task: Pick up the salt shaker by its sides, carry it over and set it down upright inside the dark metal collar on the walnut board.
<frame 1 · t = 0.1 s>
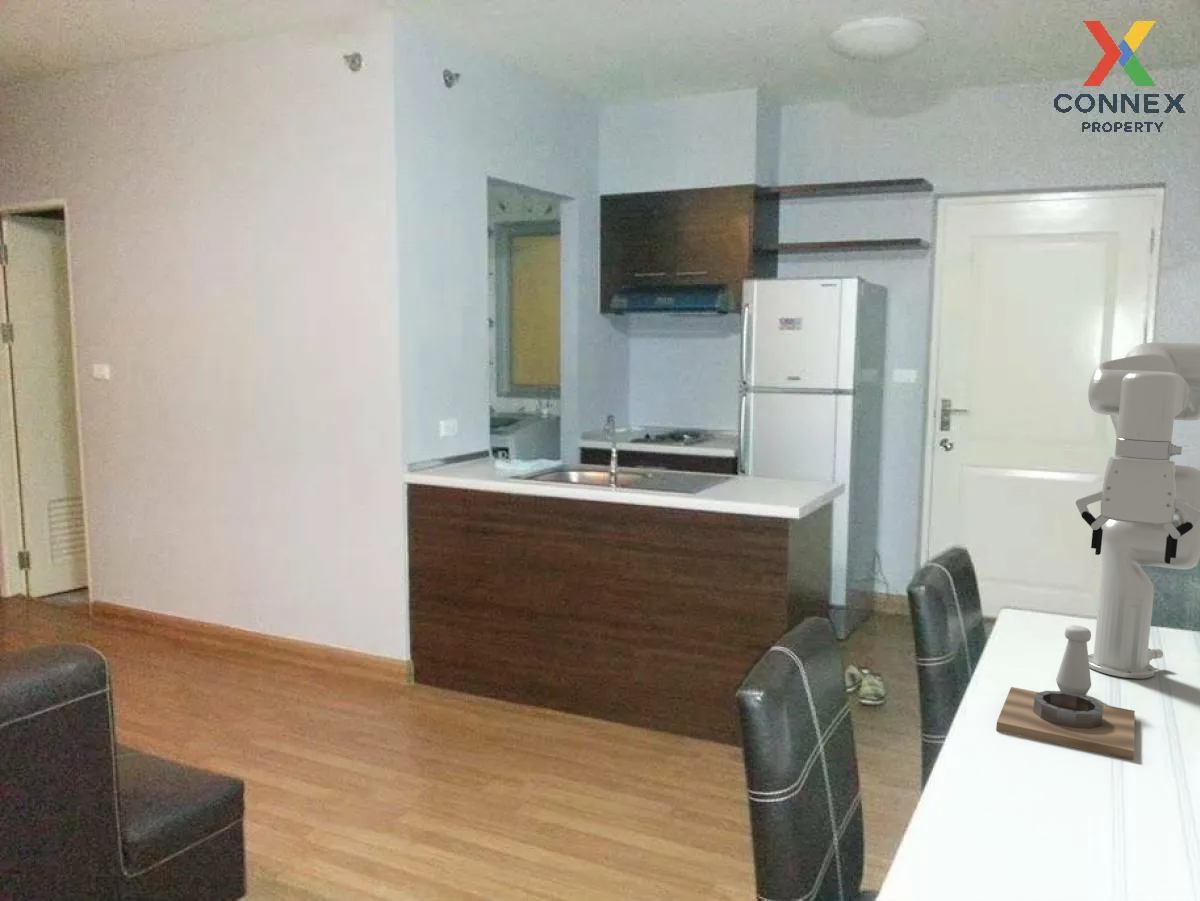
hand: (1132, 557, 149), 31 cm above the table, tool pointing down, fingers open, 9 cm apart
salt shaker: (1072, 695, 175), on the table
board: (1066, 724, 160), on the table
collar: (1067, 709, 160), on the board, point 2 cm above the table
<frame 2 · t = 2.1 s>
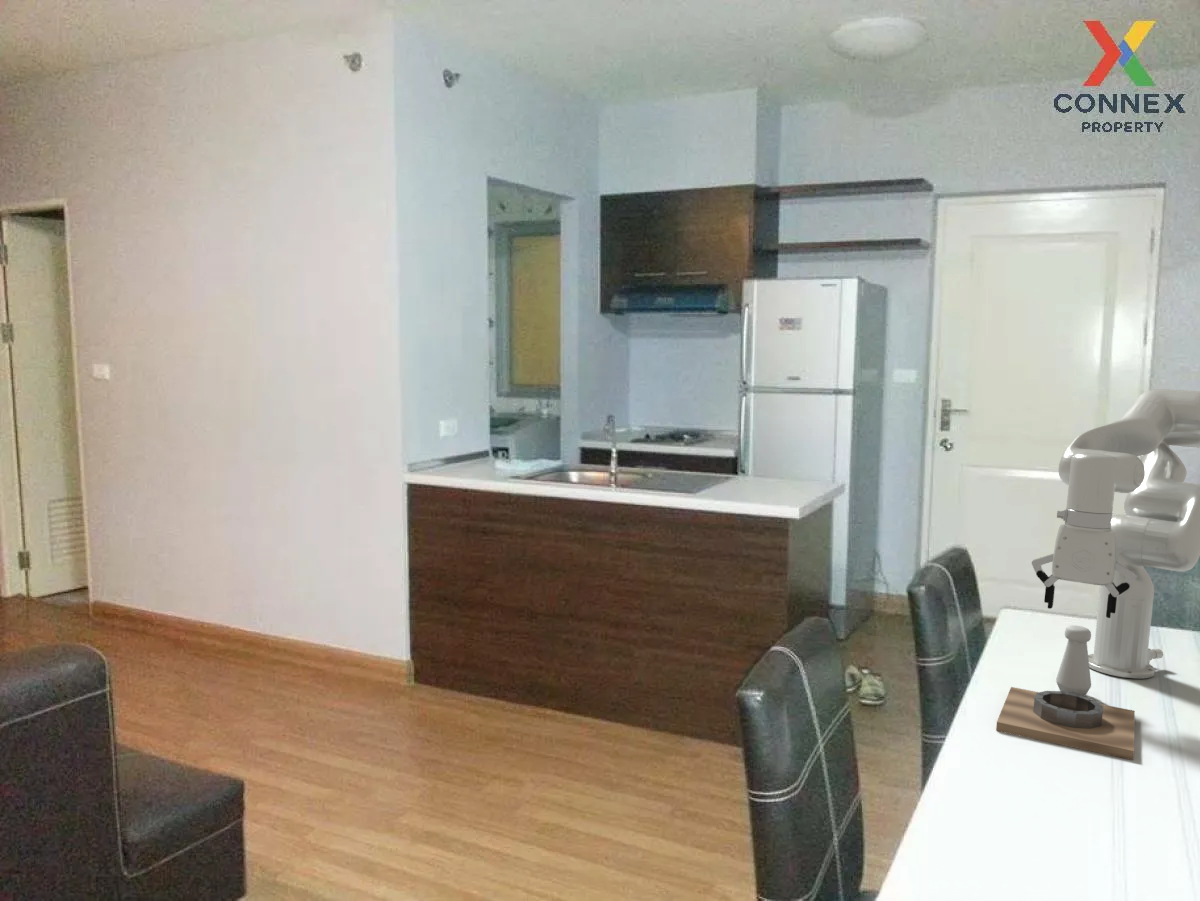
hand: (1078, 611, 173), 16 cm above the table, tool pointing down, fingers open, 9 cm apart
nothing on the table moved.
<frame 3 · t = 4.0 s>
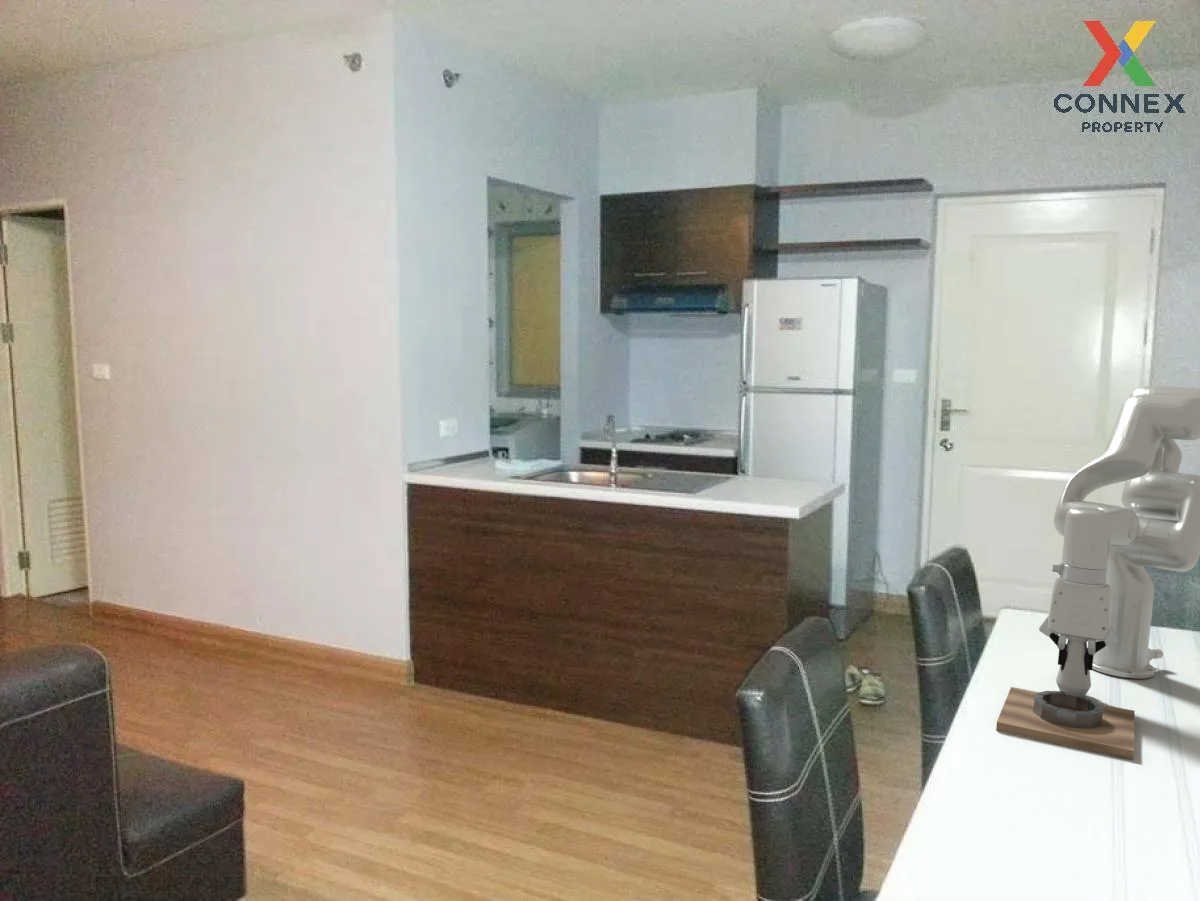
hand: (1074, 670, 174), 5 cm above the table, tool pointing down, fingers closed on salt shaker, 3 cm apart
salt shaker: (1072, 695, 175), on the table, touching gripper
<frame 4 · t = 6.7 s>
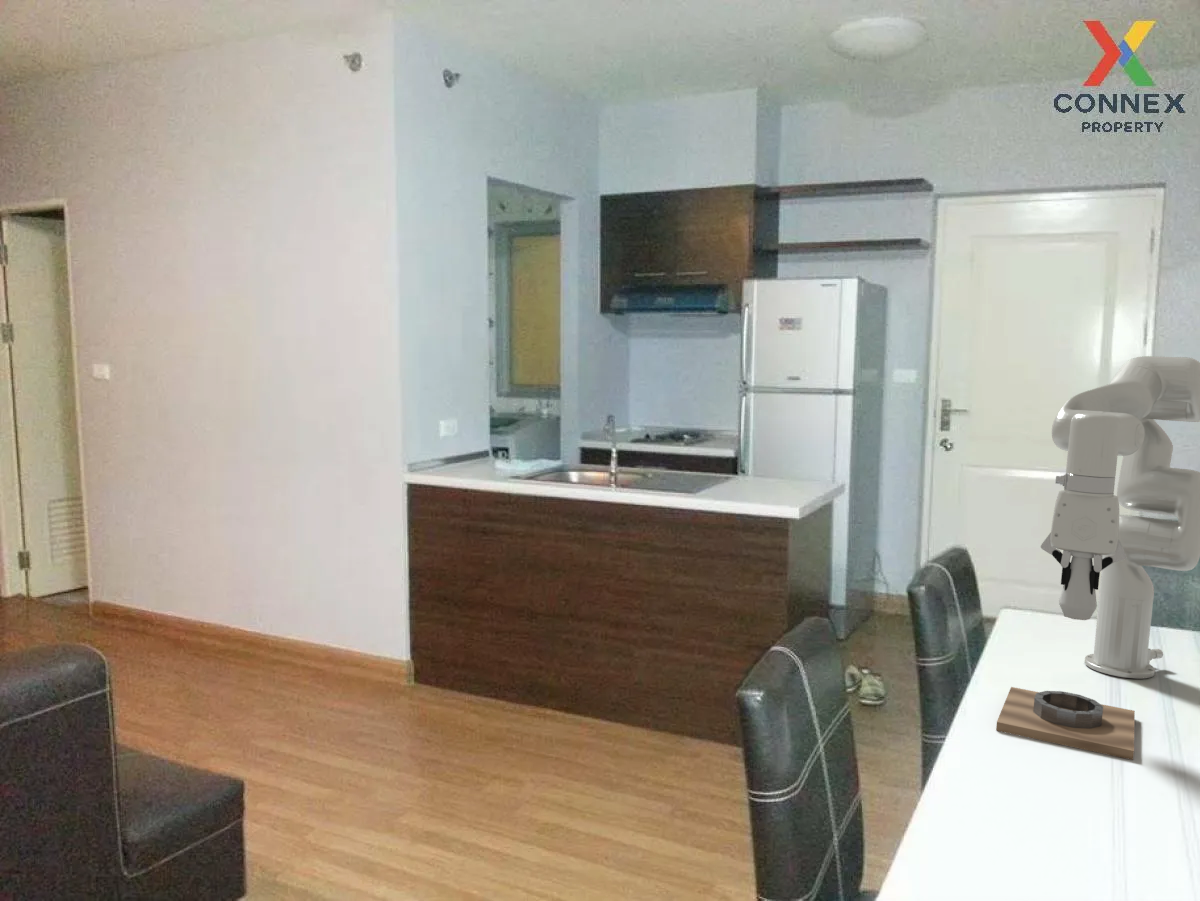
hand: (1079, 590, 161), 23 cm above the table, tool pointing down, fingers closed on salt shaker, 3 cm apart
salt shaker: (1076, 618, 161), point 18 cm above the table, touching gripper
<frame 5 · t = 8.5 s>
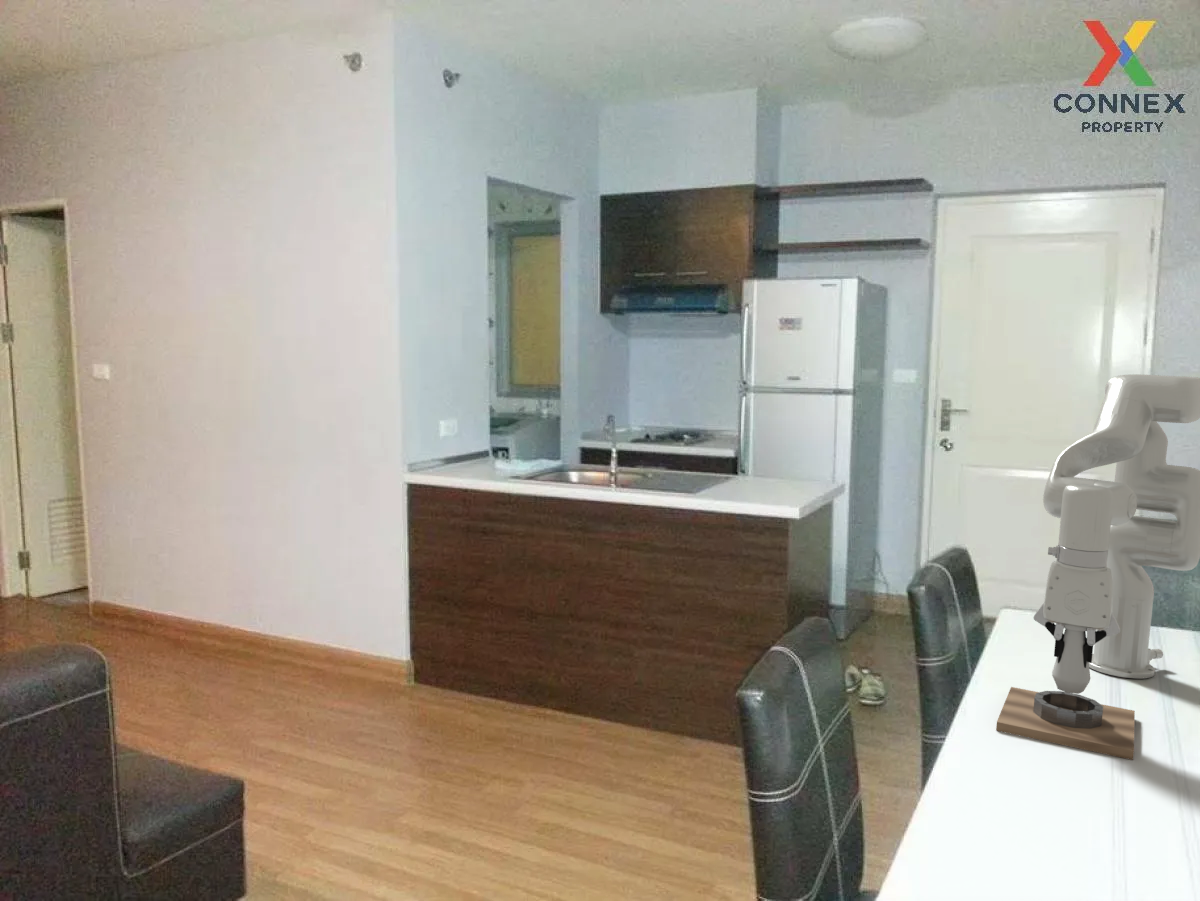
hand: (1072, 662, 159), 11 cm above the table, tool pointing down, fingers closed on salt shaker, 3 cm apart
salt shaker: (1069, 690, 159), point 6 cm above the table, touching gripper
when the fingers open (8 cm above the table, at t = 9.5 s): salt shaker stays where it is, resting on board.
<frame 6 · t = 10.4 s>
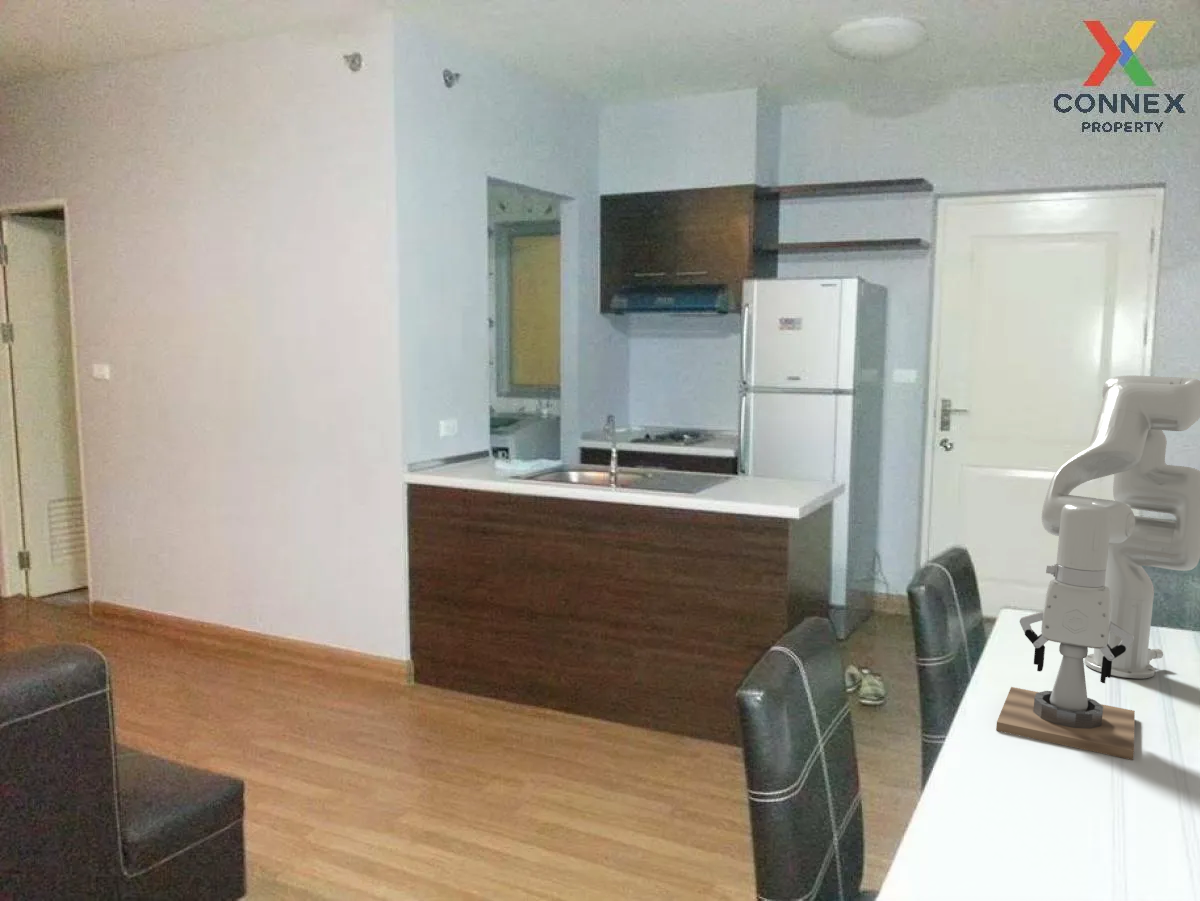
hand: (1071, 674, 159), 9 cm above the table, tool pointing down, fingers open, 9 cm apart
salt shaker: (1067, 716, 160), point 1 cm above the table, touching board
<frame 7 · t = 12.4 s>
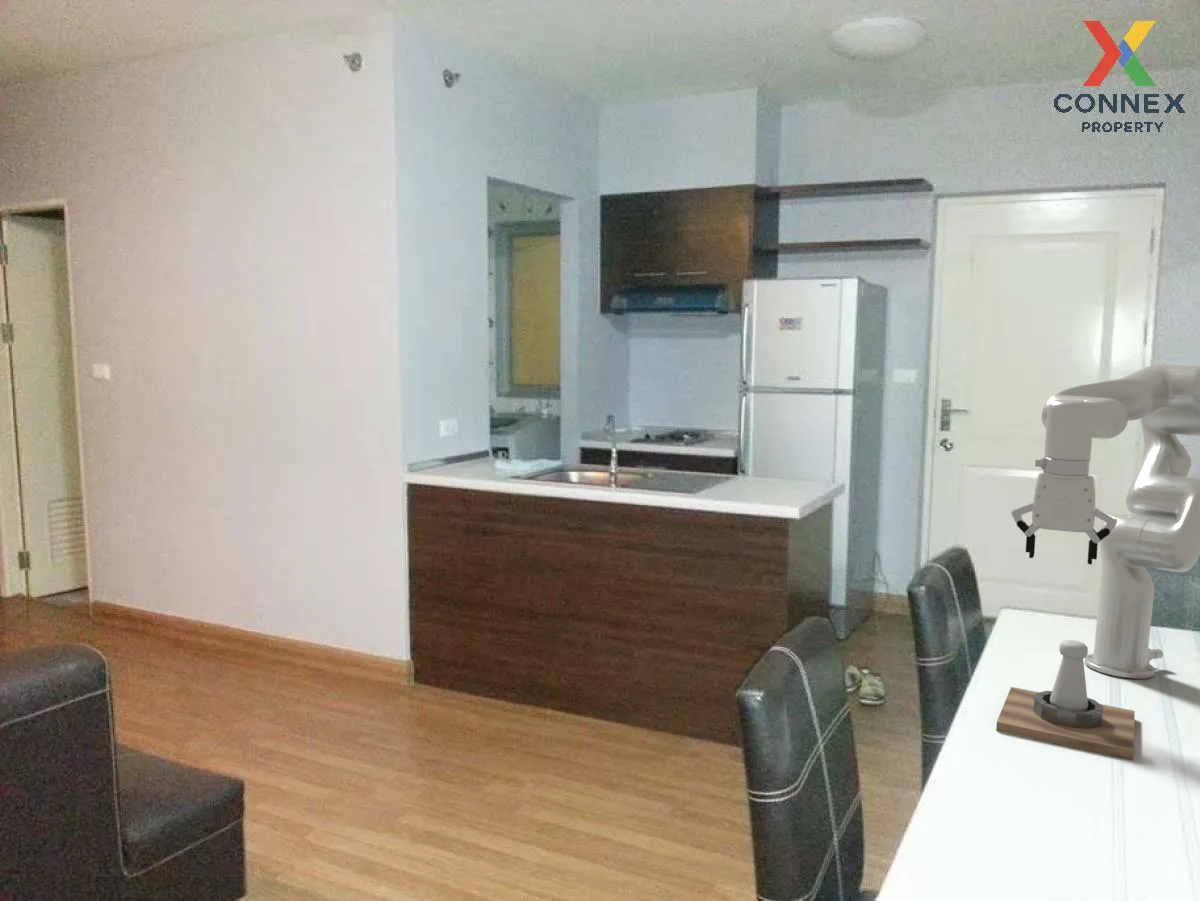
hand: (1060, 559, 172), 26 cm above the table, tool pointing down, fingers open, 9 cm apart
nothing on the table moved.
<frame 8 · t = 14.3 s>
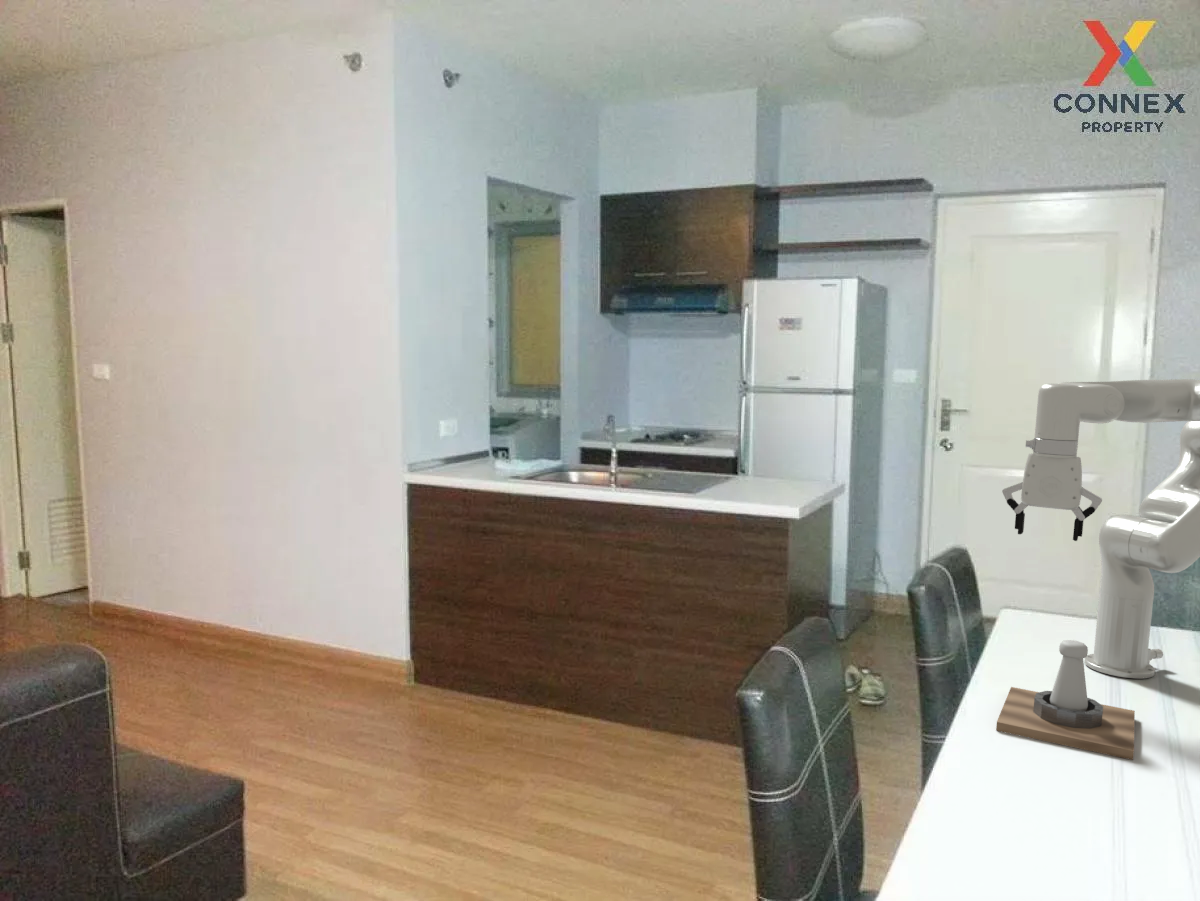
hand: (1047, 536, 180), 28 cm above the table, tool pointing down, fingers open, 9 cm apart
nothing on the table moved.
at the end: salt shaker 0.2 cm off-centre on the board, point 1.3 cm above the board's base; salt shaker tilted 0°; the gripper is holding nothing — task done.
